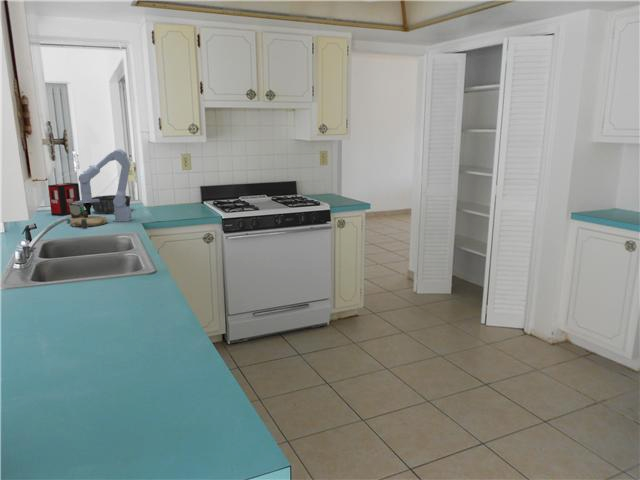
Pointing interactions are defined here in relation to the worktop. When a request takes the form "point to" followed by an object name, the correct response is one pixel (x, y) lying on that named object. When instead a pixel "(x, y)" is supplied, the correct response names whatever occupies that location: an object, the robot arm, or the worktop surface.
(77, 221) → the turntable
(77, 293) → the worktop surface
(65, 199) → the cleaning product box
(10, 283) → the worktop surface
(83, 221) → the pointer post
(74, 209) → the food container
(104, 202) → the bundt pan
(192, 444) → the worktop surface
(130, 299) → the worktop surface
